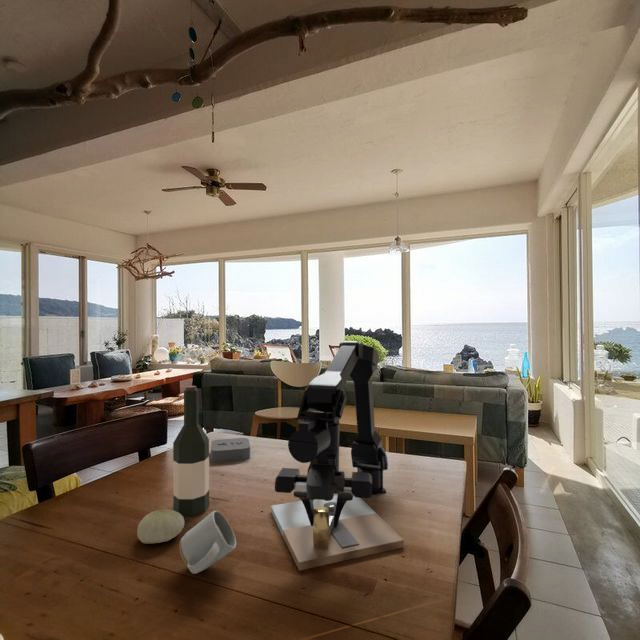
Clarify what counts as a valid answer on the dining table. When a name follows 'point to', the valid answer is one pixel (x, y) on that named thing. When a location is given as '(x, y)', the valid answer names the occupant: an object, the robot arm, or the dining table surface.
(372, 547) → the door board
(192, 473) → the wine bottle
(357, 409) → the robot arm
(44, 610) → the dining table surface
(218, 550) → the ceramic mug
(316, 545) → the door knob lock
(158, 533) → the sea urchin shell
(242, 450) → the streaming box
